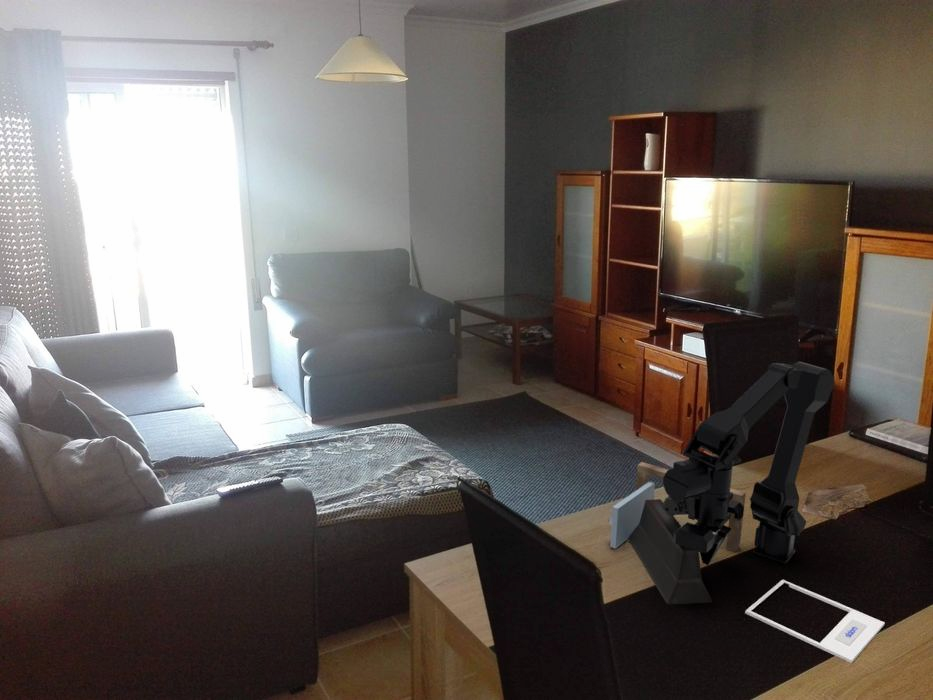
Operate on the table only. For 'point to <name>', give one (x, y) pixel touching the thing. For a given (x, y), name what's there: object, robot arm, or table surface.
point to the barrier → (667, 557)
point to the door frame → (739, 496)
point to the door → (629, 514)
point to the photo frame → (844, 637)
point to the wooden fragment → (835, 501)
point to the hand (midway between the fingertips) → (705, 563)
